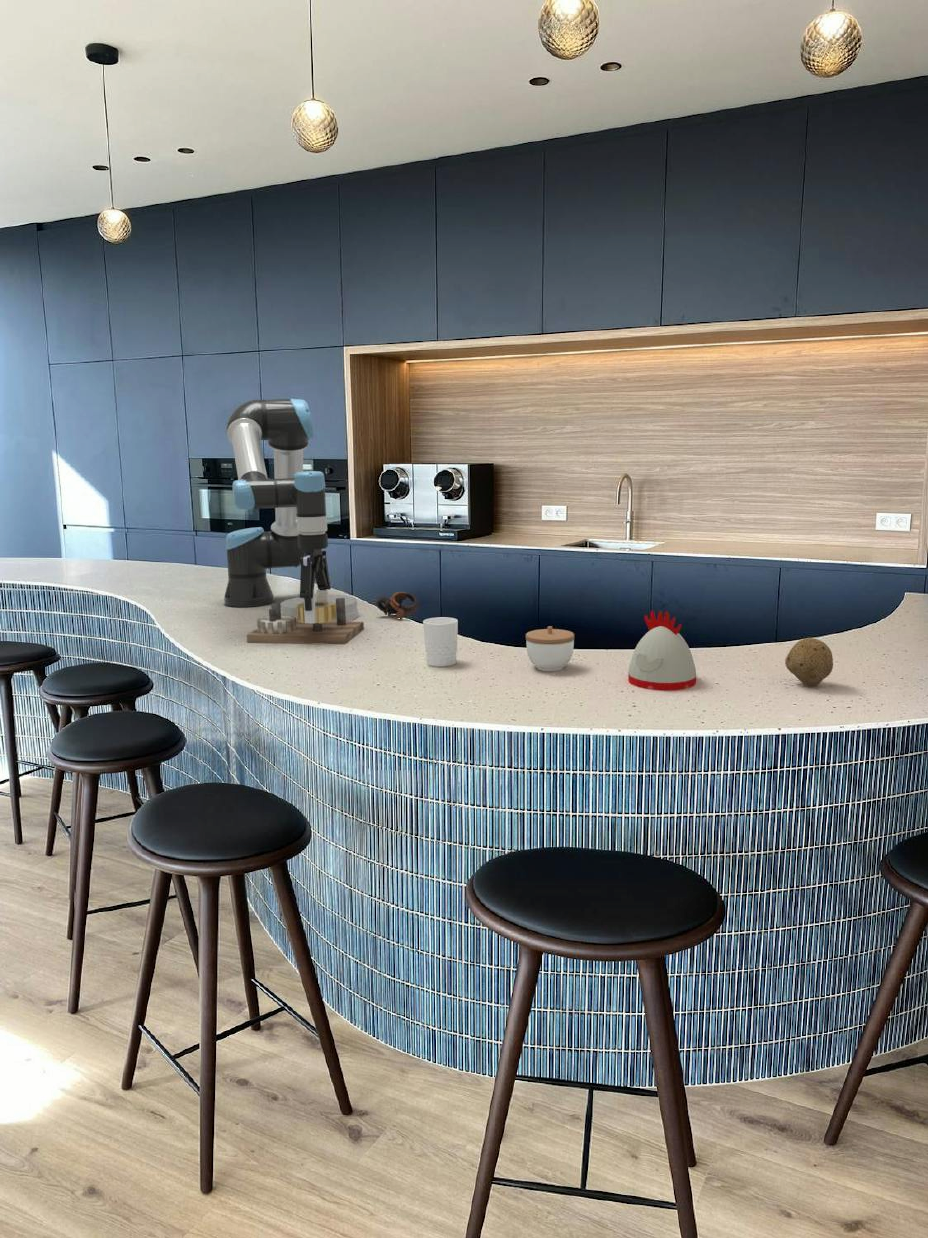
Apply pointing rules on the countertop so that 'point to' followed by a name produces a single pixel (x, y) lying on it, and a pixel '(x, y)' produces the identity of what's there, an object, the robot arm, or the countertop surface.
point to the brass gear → (319, 612)
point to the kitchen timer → (662, 657)
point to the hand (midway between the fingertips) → (317, 618)
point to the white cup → (440, 641)
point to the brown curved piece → (397, 605)
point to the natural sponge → (810, 661)
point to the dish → (291, 604)
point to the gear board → (304, 628)
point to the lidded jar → (550, 648)
